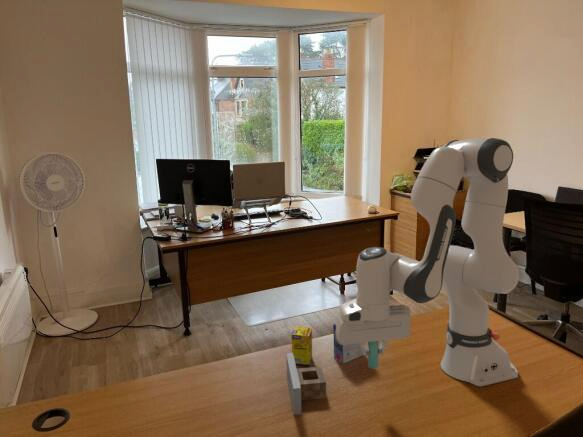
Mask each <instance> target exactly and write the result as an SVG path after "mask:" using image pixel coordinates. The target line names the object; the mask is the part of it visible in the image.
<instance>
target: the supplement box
mask: <svg viewBox="0 0 583 437" xmlns="http://www.w3.org/2000/svg"><path fill="white" fill-rule="evenodd" d="M290 336H291V353H293V356H294V360H295V365H296V367H297V366H299V367H306V368H310V366H311V362H312V358H313V328H312V327H305V326H304V327H303V326H294V328H293V331H292V332H291V335H290Z"/></svg>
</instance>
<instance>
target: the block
mask: <svg viewBox="0 0 583 437" xmlns="http://www.w3.org/2000/svg"><path fill="white" fill-rule="evenodd" d="M296 369H297V373H298V377H299V382H300V386H301V401H307V400H318V399H326V398H327V381H326V378H325V375H324V372H323V368H322V367H321V366H314V367H313V366H312V367H302V368H301V367H300V368H296Z"/></svg>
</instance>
